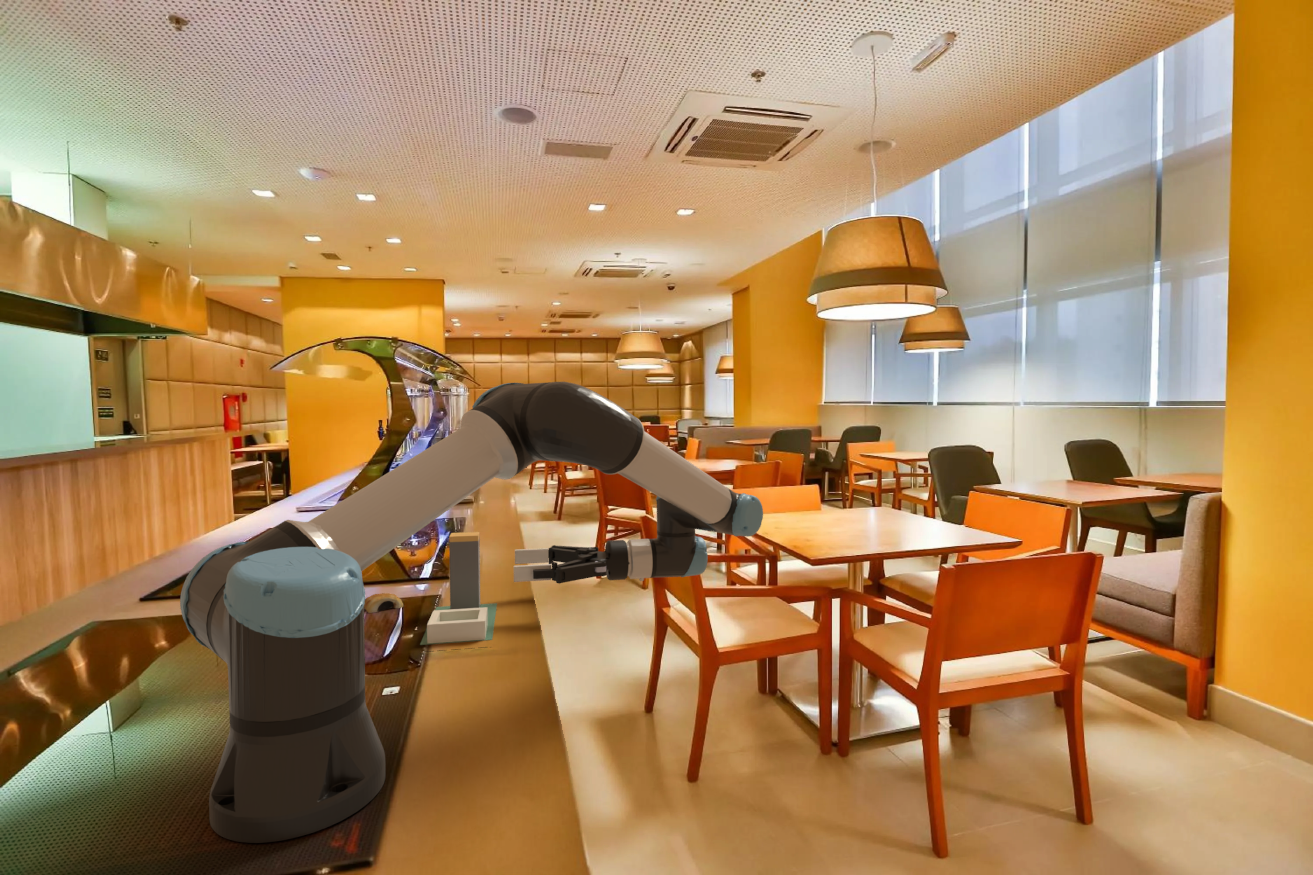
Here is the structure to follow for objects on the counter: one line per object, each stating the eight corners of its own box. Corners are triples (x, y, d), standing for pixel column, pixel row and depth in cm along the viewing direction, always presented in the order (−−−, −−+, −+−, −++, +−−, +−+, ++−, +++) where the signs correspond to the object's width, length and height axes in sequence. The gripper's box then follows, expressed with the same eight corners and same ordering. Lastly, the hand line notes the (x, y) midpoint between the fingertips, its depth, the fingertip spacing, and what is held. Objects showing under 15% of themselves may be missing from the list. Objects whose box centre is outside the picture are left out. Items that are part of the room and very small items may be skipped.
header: (485, 639, 103) (484, 620, 103) (427, 643, 101) (427, 624, 101) (487, 624, 111) (487, 607, 110) (433, 627, 109) (433, 610, 109)
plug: (479, 611, 117) (478, 535, 117) (450, 613, 116) (449, 536, 116) (480, 605, 121) (479, 531, 120) (452, 607, 120) (451, 532, 119)
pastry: (357, 608, 124) (356, 589, 124) (393, 602, 128) (393, 583, 128) (368, 621, 117) (368, 600, 117) (407, 614, 121) (407, 594, 121)
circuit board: (492, 646, 103) (492, 639, 103) (419, 652, 101) (419, 644, 101) (497, 609, 123) (497, 603, 123) (436, 613, 121) (436, 606, 121)
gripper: (638, 596, 113) (513, 604, 108) (617, 563, 137) (515, 568, 133) (638, 554, 112) (512, 559, 108) (617, 528, 137) (515, 532, 132)
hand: (514, 564), depth 120 cm, fingers open, 13 cm apart
